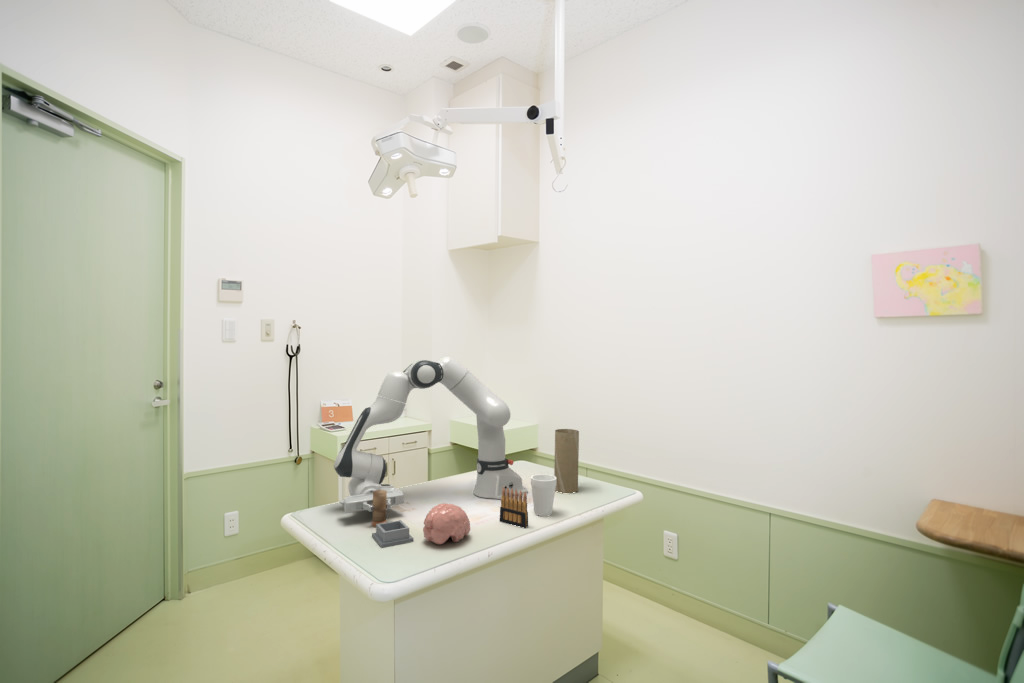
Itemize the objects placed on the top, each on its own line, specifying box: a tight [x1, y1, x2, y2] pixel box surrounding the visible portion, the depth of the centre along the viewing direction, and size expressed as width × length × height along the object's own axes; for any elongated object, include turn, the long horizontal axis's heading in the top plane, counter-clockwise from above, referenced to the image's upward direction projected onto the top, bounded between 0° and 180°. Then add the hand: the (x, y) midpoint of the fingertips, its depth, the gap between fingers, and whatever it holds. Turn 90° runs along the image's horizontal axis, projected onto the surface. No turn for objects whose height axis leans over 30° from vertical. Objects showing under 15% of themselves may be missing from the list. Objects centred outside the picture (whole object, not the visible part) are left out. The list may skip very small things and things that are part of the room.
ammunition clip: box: [499, 487, 529, 529], centre depth 171 cm, size 11×2×12 cm, turn 56°
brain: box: [422, 503, 471, 545], centre depth 157 cm, size 16×13×12 cm
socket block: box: [371, 519, 414, 549], centre depth 156 cm, size 10×10×4 cm
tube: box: [553, 428, 580, 494], centre depth 212 cm, size 10×10×25 cm
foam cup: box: [530, 473, 556, 517], centre depth 182 cm, size 10×9×13 cm
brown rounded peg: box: [371, 490, 387, 528], centre depth 168 cm, size 5×5×11 cm
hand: (380, 507), depth 168 cm, fingers closed on brown rounded peg, 4 cm apart
